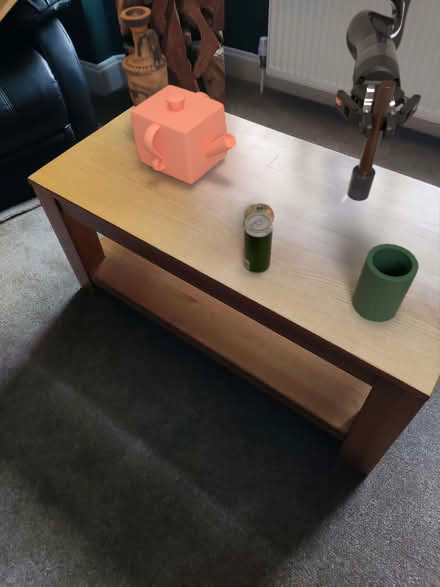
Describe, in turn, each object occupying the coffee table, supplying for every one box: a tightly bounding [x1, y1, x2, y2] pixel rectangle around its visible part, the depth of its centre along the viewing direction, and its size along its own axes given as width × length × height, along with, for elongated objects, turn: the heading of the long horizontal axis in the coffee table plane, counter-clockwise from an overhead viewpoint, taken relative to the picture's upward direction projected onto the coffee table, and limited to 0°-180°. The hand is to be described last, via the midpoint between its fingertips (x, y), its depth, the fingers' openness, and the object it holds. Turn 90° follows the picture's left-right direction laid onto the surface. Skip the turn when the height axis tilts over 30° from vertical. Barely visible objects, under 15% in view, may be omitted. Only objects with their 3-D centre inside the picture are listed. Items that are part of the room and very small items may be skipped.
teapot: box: [129, 84, 237, 185], centre depth 102 cm, size 25×23×18 cm
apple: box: [243, 202, 275, 224], centre depth 93 cm, size 6×8×6 cm
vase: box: [119, 5, 169, 108], centre depth 107 cm, size 11×11×30 cm
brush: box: [346, 80, 396, 202], centre depth 69 cm, size 4×4×20 cm
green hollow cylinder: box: [351, 243, 419, 323], centre depth 77 cm, size 8×8×12 cm
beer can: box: [243, 213, 274, 275], centre depth 84 cm, size 5×5×12 cm
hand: (377, 133), depth 64 cm, fingers closed on brush, 2 cm apart
